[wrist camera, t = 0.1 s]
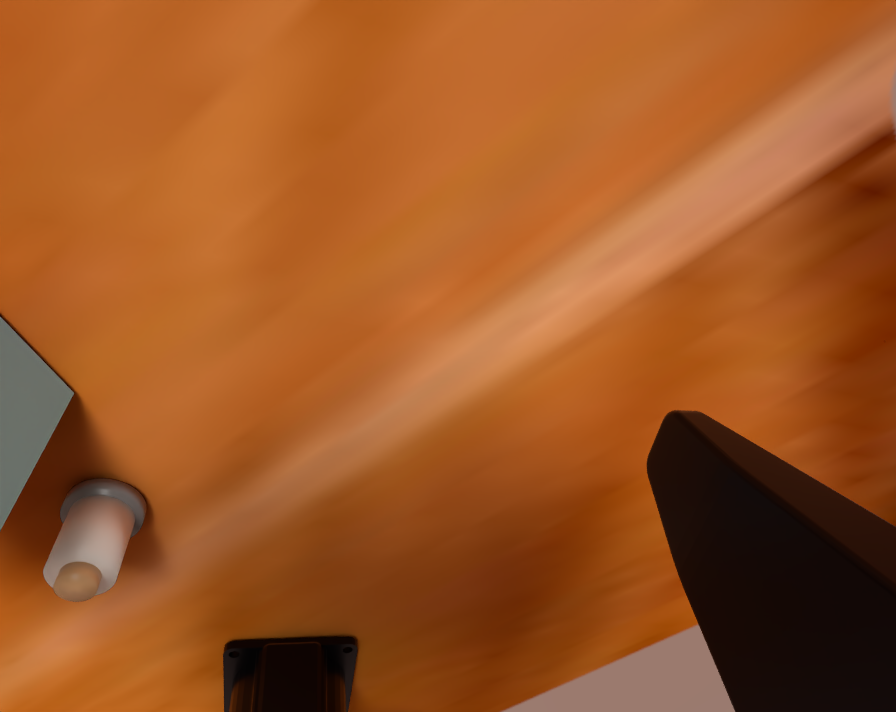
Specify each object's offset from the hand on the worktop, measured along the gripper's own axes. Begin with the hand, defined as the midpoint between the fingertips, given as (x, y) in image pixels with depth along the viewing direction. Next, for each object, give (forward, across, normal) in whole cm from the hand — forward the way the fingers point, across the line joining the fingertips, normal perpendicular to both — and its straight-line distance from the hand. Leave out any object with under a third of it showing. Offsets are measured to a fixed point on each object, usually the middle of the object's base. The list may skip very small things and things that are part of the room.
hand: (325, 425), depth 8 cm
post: (+14, +8, +16) cm, 23 cm away
